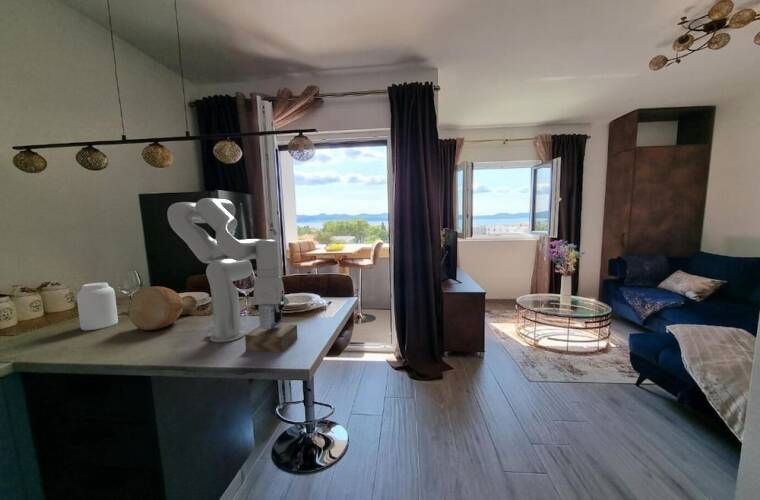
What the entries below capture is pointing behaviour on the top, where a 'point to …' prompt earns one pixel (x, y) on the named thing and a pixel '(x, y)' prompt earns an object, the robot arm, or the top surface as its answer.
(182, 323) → the top surface
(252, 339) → the walnut block
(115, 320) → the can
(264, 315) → the medicine box
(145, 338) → the top surface
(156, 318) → the jug
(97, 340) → the top surface
